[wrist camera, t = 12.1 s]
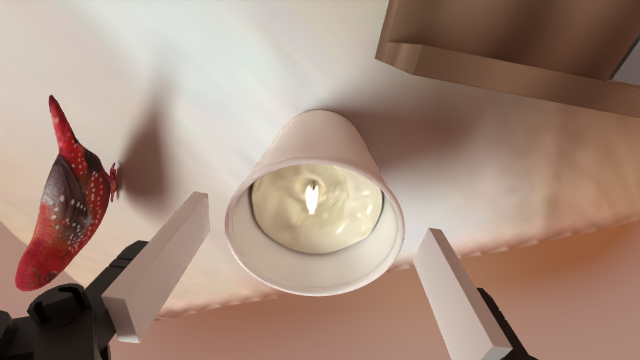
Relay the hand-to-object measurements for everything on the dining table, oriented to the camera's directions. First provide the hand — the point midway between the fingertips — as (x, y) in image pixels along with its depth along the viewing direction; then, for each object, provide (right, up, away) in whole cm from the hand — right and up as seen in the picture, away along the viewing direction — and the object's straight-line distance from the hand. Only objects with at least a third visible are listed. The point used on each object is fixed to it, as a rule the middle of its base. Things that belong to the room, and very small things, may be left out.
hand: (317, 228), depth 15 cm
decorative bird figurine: (-20, +5, +10) cm, 23 cm away
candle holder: (0, +6, +9) cm, 11 cm away
